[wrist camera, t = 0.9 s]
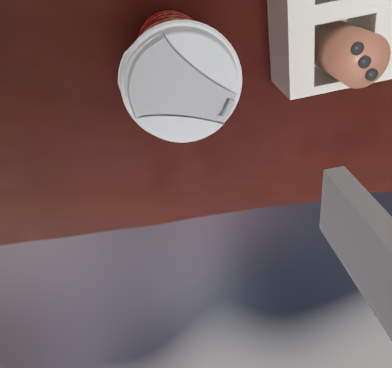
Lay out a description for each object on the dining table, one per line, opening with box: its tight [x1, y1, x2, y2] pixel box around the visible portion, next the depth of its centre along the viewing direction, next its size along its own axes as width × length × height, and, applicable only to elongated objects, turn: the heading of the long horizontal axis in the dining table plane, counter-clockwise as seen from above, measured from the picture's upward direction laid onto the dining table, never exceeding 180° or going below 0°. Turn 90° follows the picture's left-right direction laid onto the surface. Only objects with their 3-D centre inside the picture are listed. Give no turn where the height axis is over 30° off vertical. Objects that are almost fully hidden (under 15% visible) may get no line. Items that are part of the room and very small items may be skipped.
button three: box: [314, 20, 391, 88], centre depth 32 cm, size 4×4×6 cm
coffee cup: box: [118, 10, 242, 143], centre depth 30 cm, size 8×8×15 cm
